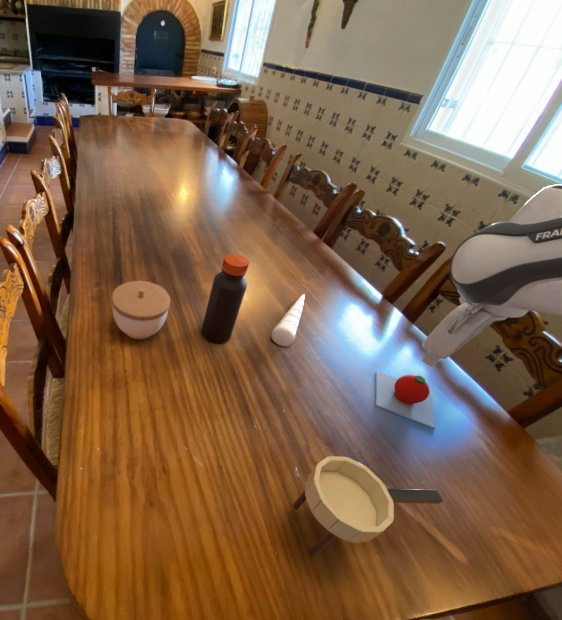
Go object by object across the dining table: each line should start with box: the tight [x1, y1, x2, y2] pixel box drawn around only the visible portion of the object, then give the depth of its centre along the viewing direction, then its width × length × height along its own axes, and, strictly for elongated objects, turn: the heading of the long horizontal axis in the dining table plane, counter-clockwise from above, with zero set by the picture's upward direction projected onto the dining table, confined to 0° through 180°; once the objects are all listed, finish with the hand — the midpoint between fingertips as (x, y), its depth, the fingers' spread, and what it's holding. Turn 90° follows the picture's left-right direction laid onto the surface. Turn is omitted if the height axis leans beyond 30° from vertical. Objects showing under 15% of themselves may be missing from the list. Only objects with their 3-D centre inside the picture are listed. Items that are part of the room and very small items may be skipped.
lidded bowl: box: [111, 280, 171, 340], centre depth 79 cm, size 13×13×11 cm
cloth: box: [375, 370, 436, 430], centre depth 71 cm, size 10×10×1 cm
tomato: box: [394, 374, 430, 405], centre depth 69 cm, size 5×5×6 cm
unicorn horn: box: [271, 293, 306, 347], centre depth 87 cm, size 5×24×5 cm, turn 143°
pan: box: [292, 455, 444, 558], centre depth 48 cm, size 16×9×12 cm, turn 91°
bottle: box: [201, 253, 250, 344], centre depth 76 cm, size 7×7×20 cm
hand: (441, 353), depth 63 cm, fingers open, 8 cm apart
